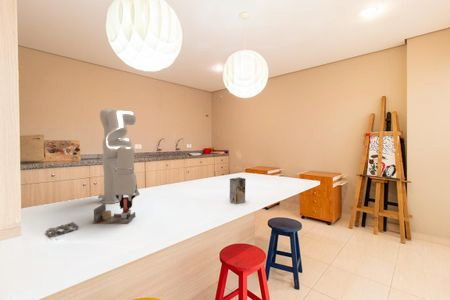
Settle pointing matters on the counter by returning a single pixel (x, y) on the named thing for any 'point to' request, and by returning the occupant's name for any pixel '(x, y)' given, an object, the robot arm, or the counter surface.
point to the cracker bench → (114, 219)
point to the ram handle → (125, 209)
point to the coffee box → (237, 190)
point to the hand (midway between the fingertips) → (126, 207)
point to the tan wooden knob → (106, 215)
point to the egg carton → (66, 228)
